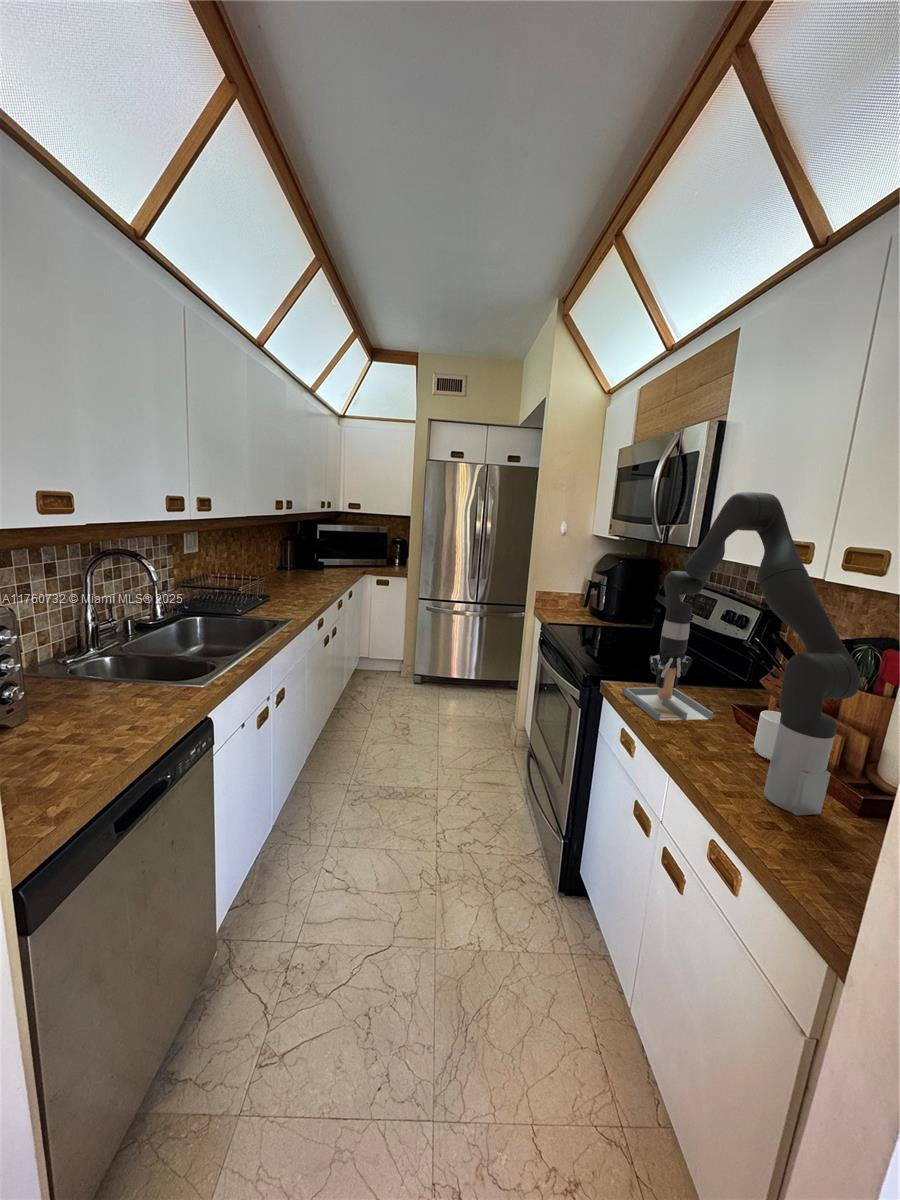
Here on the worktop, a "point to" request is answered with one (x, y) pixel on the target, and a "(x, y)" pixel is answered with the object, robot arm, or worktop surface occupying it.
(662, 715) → the pad
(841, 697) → the robot arm
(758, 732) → the cup
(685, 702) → the grey shallow tray
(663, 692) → the peg
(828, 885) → the worktop surface
